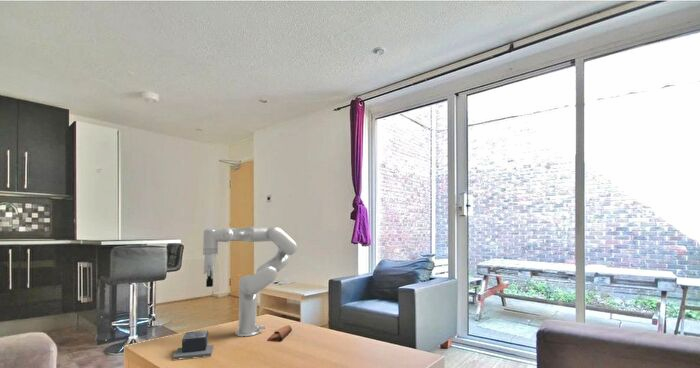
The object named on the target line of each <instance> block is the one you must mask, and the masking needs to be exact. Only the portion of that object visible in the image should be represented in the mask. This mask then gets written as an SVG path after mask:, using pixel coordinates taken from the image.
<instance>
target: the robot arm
mask: <svg viewBox="0 0 700 368" xmlns="http://www.w3.org/2000/svg"><path fill="white" fill-rule="evenodd" d="M202 238H203V239H202V240H203V243H202V244H203V245H202V255H203V256H204V260H203V274H204V275H206V282H205V284H206V285H205V286H206V288H211V287H214V273H215V271H216V255H218V254H219V243H220V242H221V243H229V242H238V241H239V242H247V243H261V242H272V243H274V244H275V245H276V246H277V253H276V254H275V255H273V257H272V258H271V259H269V260H268V261H265V262H264V263H263V264H261V265H260V266H258V268H257V269H256V272H255V273H254V274H253V275H252V274H245V275H243V276H241V277H240V279H239V282H238V296H239V297H238V298H239V299H238V301H239V302H238V330H236V331H235V336H237V335H239V336H238V337H243V336H245V337H252V336H255V335H258V334H259V333H260V330H265V329H266V325H263V324H260V325H259V324H258V323H257V314H258V313H257V311H258V310H257V309H258V307H257V305H258V293H259V292H261V291H263V290H264V289H265V288H267V287H268V286H269V285H270V284H272V283H273V282H274V281H275V280H276V279H277V277H278V273H279V272H280V271H281V270H283V269H284V268H285V267H286V266H287V265H288V263H289V261H290V259H291V256H293V255H294V254H296V252H297V249H298V246H297V243H296V241H294V240H293V238H291V237H290V236H289V235H288V234H287V233H286V231H284V230H283V229H282V228H280V227H278V226H246V227H222V228H219V229H217V228H205V229H204V230H203V235H202Z"/></svg>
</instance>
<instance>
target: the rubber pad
mask: <svg viewBox="0 0 700 368" xmlns="http://www.w3.org/2000/svg"><path fill="white" fill-rule="evenodd" d="M212 350H213V351H214V344H210V345H209V344H207V347H206V350H202V351H191V352H182V347H178V348H177V350H176V351H175V352H174V354H173V356H172V360H173V359H179V358H191V359H194V358H193V357H201V358H204V357H203V356H211V357H212V355H213V351H212ZM211 354H212V355H211Z"/></svg>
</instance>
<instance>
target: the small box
mask: <svg viewBox="0 0 700 368" xmlns="http://www.w3.org/2000/svg"><path fill="white" fill-rule="evenodd" d="M208 343H209V330H197V331H186V332H185V333H184V336H183V337H182V339H181V348H182V352H191V351H202V350H206V347H207V345H209V344H208Z"/></svg>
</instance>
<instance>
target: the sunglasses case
mask: <svg viewBox="0 0 700 368" xmlns="http://www.w3.org/2000/svg"><path fill="white" fill-rule="evenodd" d="M292 331H293V328H292V326H291V325H285V326H282V327H280V328H279V329H276V330H275V331H274V333H272V334H271V335H270V336H269V337H268V338H266V341H267V342H282V341H283V340H284V339H285V338H286V337H287V335H288V334H289V333H291V332H292Z"/></svg>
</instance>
